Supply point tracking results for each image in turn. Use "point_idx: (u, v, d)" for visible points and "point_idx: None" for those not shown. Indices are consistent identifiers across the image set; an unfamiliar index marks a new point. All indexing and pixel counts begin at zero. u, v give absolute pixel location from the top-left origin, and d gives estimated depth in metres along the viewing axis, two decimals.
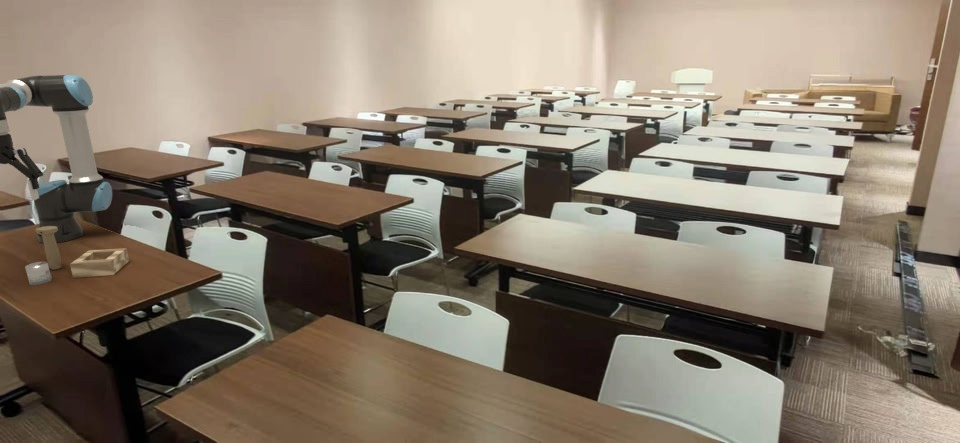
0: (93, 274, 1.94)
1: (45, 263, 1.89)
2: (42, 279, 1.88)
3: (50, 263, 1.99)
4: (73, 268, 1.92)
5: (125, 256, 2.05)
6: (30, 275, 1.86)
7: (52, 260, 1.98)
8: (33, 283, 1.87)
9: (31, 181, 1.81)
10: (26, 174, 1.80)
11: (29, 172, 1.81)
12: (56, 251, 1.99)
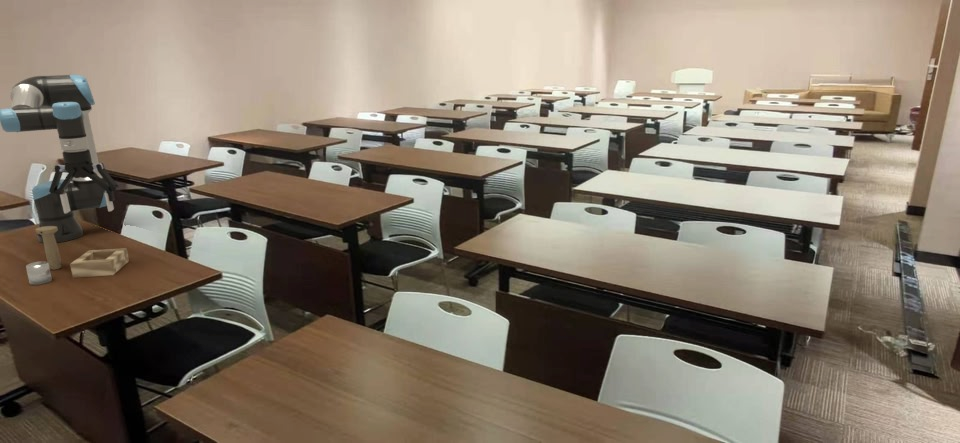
0: (93, 274, 1.94)
1: (46, 263, 1.90)
2: (43, 279, 1.88)
3: (50, 263, 1.99)
4: (73, 268, 1.92)
5: (125, 256, 2.05)
6: (31, 275, 1.86)
7: (52, 260, 1.98)
8: (34, 283, 1.87)
9: (108, 194, 1.93)
10: (104, 187, 1.92)
11: (106, 185, 1.92)
12: (56, 251, 1.99)
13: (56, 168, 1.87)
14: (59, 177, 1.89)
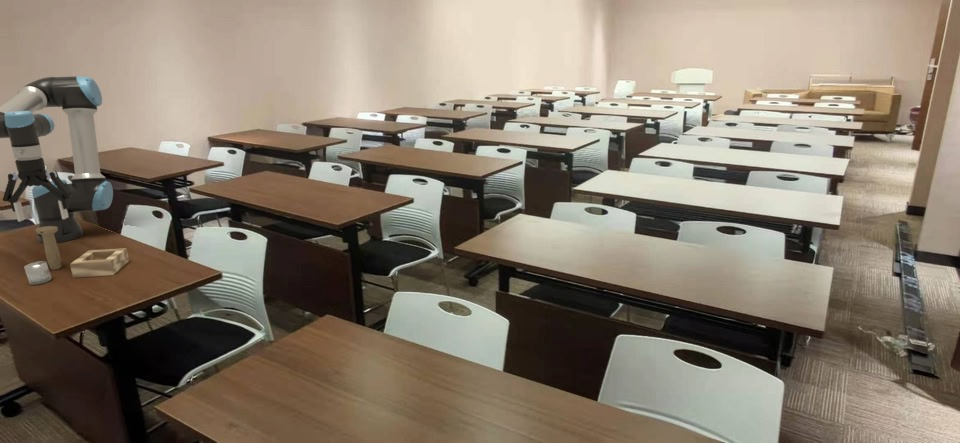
0: (93, 274, 1.94)
1: (44, 262, 1.90)
2: (44, 278, 1.88)
3: (50, 263, 1.99)
4: (73, 268, 1.92)
5: (125, 256, 2.05)
6: (31, 275, 1.86)
7: (52, 260, 1.98)
8: (35, 282, 1.87)
9: (62, 201, 1.94)
10: (58, 195, 1.93)
11: (60, 193, 1.94)
12: (56, 251, 1.99)
13: (9, 176, 1.89)
14: (13, 185, 1.91)
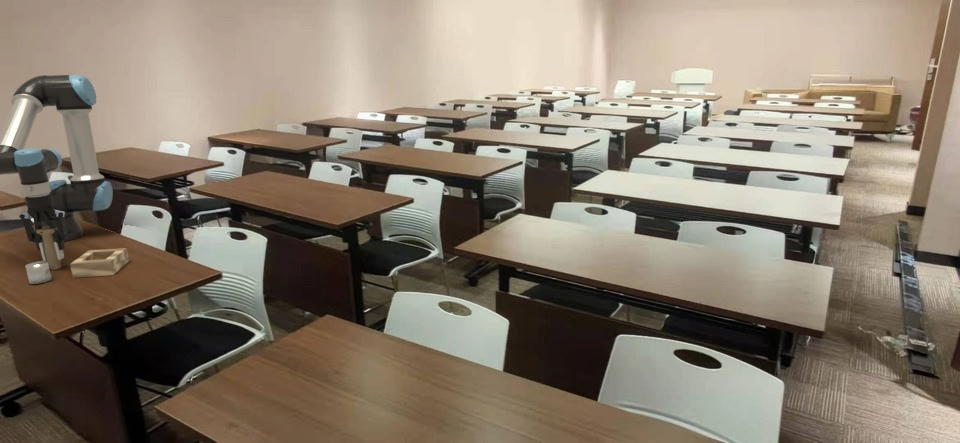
0: (93, 274, 1.94)
1: (45, 261, 1.91)
2: (46, 277, 1.89)
3: (50, 263, 1.99)
4: (73, 268, 1.92)
5: (125, 256, 2.05)
6: (34, 273, 1.86)
7: (52, 260, 1.98)
8: (38, 281, 1.87)
9: (57, 243, 1.98)
10: (56, 235, 1.97)
11: (58, 234, 1.98)
12: None
13: (21, 217, 1.93)
14: (30, 224, 1.95)
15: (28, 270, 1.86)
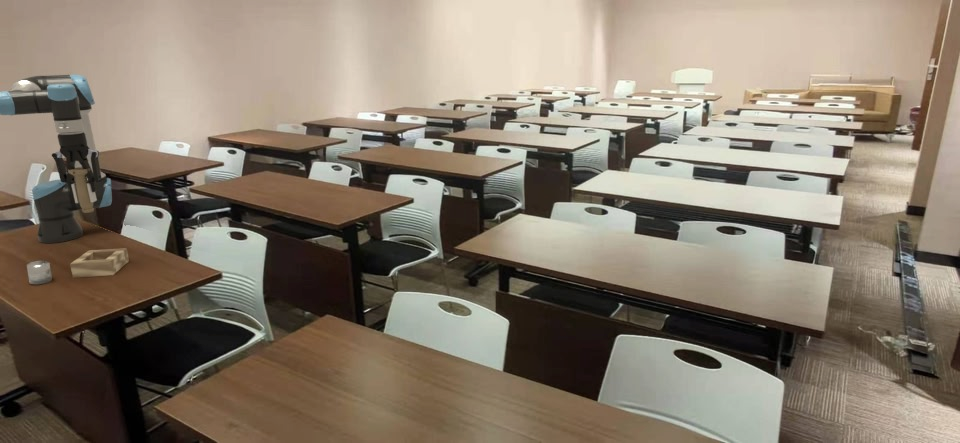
0: (93, 274, 1.94)
1: (43, 261, 1.90)
2: (50, 276, 1.90)
3: (82, 206, 1.91)
4: (73, 268, 1.92)
5: (125, 256, 2.05)
6: (41, 274, 1.87)
7: (84, 202, 1.91)
8: (44, 281, 1.88)
9: (90, 184, 1.91)
10: (89, 176, 1.90)
11: (91, 175, 1.90)
12: None
13: (53, 156, 1.86)
14: (62, 164, 1.88)
15: (34, 271, 1.86)
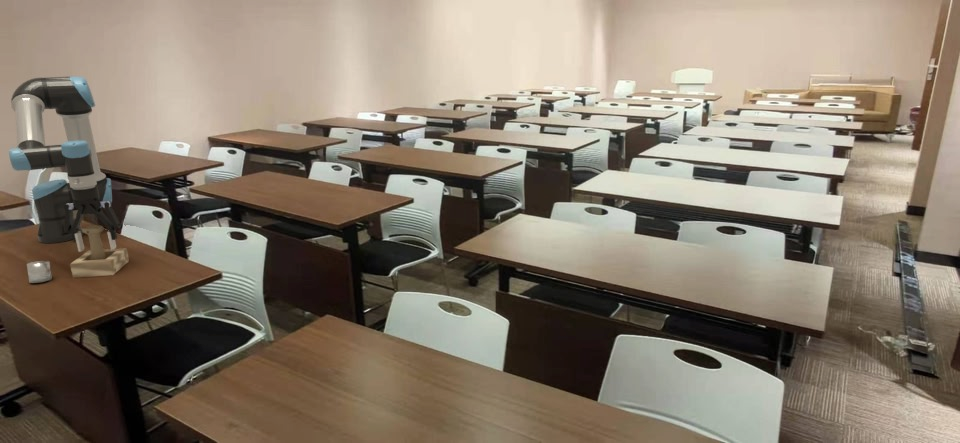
0: (93, 274, 1.94)
1: None
2: None
3: None
4: (73, 268, 1.92)
5: (125, 256, 2.05)
6: (48, 270, 1.90)
7: (98, 259, 1.97)
8: (50, 277, 1.91)
9: (110, 232, 1.96)
10: (108, 225, 1.95)
11: (110, 224, 1.96)
12: (102, 251, 1.98)
13: (65, 207, 1.91)
14: (70, 215, 1.93)
15: (43, 267, 1.88)
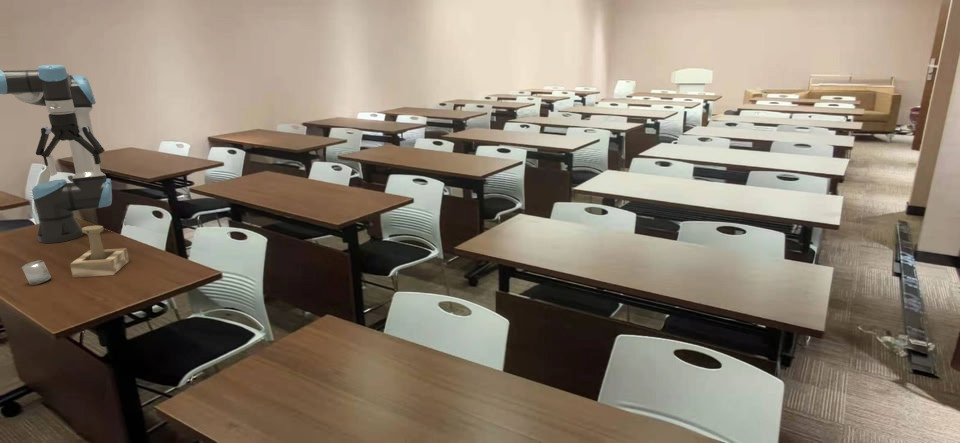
0: (93, 274, 1.94)
1: (25, 265, 1.88)
2: None
3: None
4: (73, 268, 1.92)
5: (125, 256, 2.05)
6: None
7: (98, 259, 1.97)
8: None
9: (94, 156, 1.96)
10: (90, 150, 1.95)
11: (92, 148, 1.96)
12: (102, 251, 1.98)
13: (42, 130, 1.90)
14: (45, 140, 1.92)
15: (44, 265, 1.89)
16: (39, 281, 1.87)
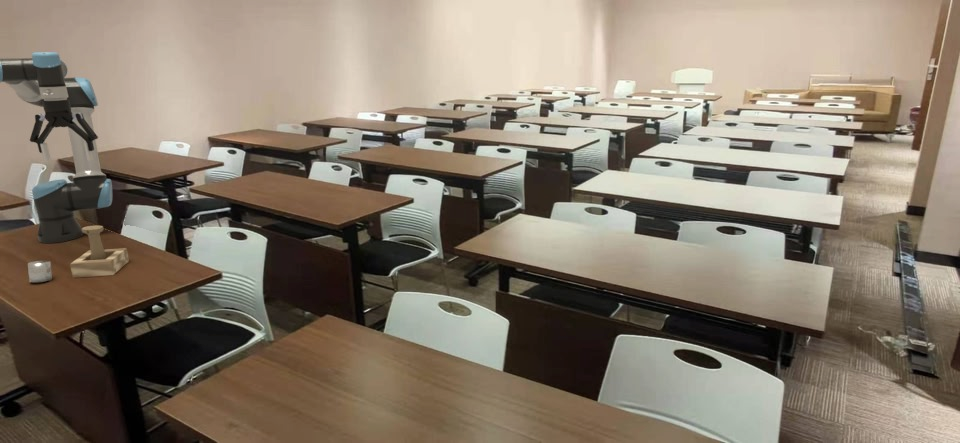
0: (93, 274, 1.94)
1: (29, 263, 1.88)
2: None
3: None
4: (73, 268, 1.92)
5: (125, 256, 2.05)
6: None
7: (98, 259, 1.97)
8: None
9: (87, 143, 1.98)
10: (83, 136, 1.97)
11: (85, 135, 1.97)
12: (102, 251, 1.98)
13: (36, 117, 1.92)
14: (39, 126, 1.94)
15: None
16: (46, 279, 1.89)
